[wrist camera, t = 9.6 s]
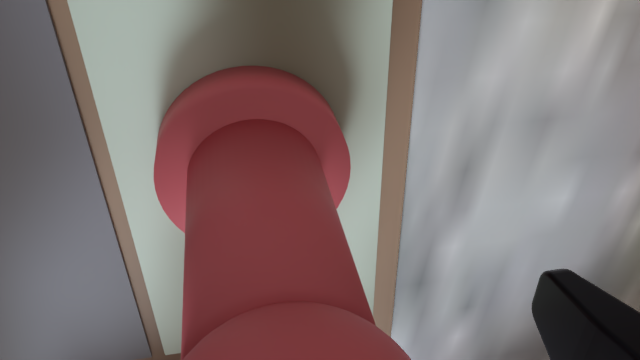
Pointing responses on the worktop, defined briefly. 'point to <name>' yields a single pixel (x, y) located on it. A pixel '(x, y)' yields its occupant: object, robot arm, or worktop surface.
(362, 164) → the game board
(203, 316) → the pawn
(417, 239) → the worktop surface
